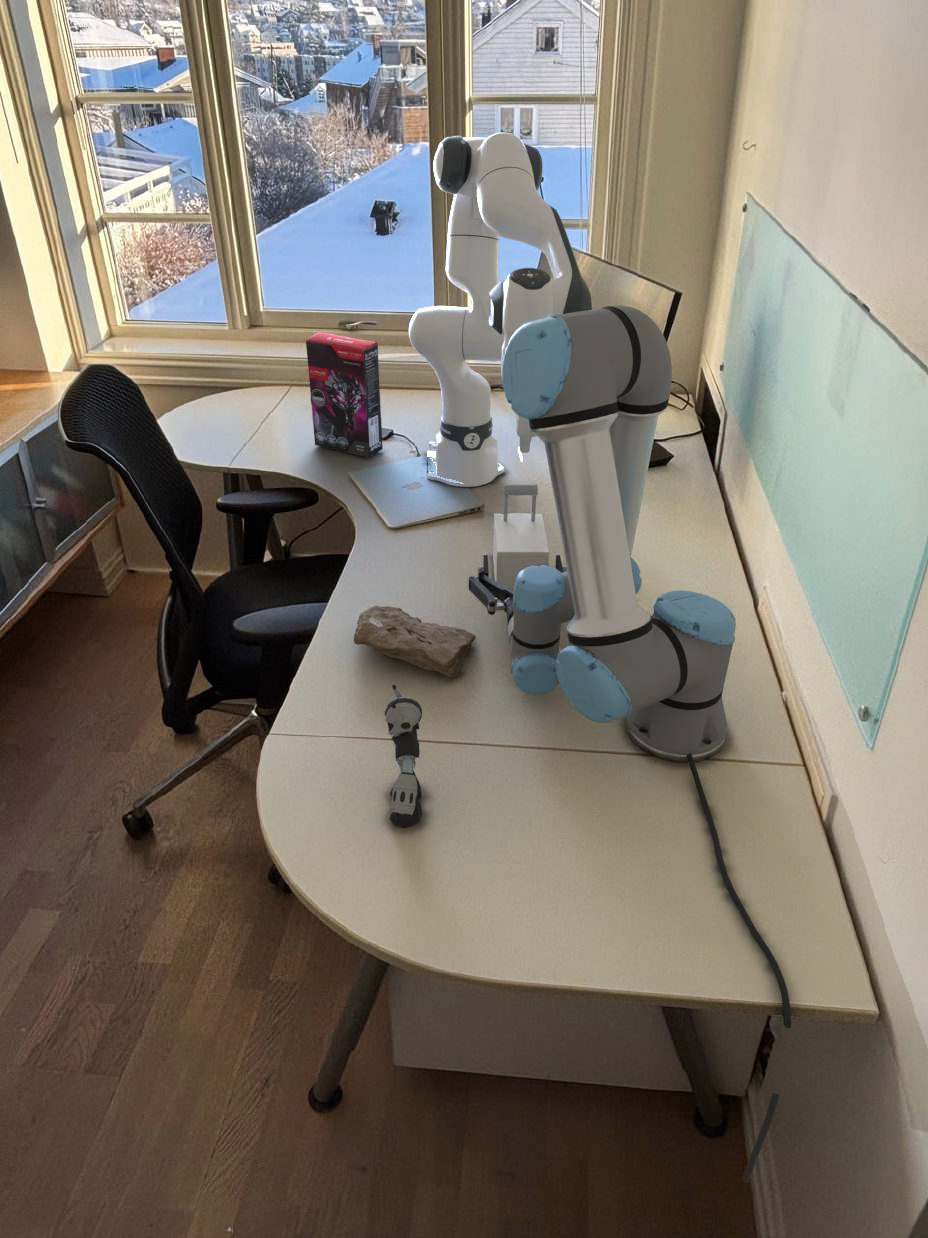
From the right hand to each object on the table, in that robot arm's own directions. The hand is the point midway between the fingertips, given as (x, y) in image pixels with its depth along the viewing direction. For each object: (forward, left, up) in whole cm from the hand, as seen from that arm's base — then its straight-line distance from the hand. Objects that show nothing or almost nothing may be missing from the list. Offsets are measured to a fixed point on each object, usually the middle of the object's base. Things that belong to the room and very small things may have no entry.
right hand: (521, 561), depth 173 cm
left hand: (+10, +3, +20) cm, 22 cm away
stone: (-25, +14, -6) cm, 30 cm away
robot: (-60, +3, -6) cm, 61 cm away
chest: (+5, +1, -6) cm, 8 cm away
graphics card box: (+54, +56, -6) cm, 78 cm away
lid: (+5, +1, +2) cm, 6 cm away
